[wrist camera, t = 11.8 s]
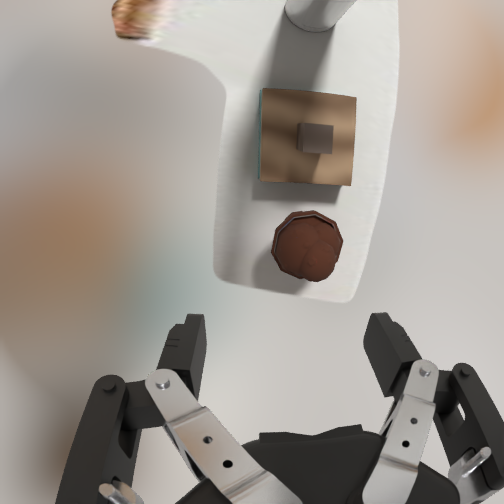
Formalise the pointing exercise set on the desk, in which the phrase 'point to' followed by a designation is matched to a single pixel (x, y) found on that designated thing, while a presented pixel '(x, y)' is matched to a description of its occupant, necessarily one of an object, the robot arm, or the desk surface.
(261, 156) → the walnut cover
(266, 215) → the desk surface
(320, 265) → the ice cream bowl
